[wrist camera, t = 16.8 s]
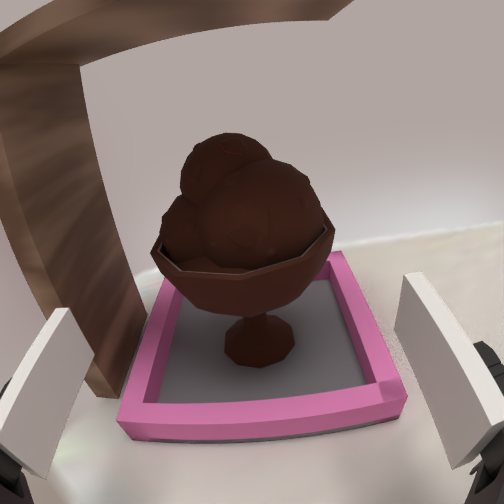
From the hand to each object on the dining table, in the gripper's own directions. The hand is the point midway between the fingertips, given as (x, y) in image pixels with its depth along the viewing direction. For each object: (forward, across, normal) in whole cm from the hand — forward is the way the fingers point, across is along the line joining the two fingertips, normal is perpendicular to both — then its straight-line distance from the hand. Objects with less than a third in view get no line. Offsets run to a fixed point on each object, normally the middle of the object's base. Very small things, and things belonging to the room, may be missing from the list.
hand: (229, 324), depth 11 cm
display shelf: (+9, -2, -10) cm, 14 cm away
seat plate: (+9, 0, -10) cm, 13 cm away
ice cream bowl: (+9, 0, -10) cm, 13 cm away
